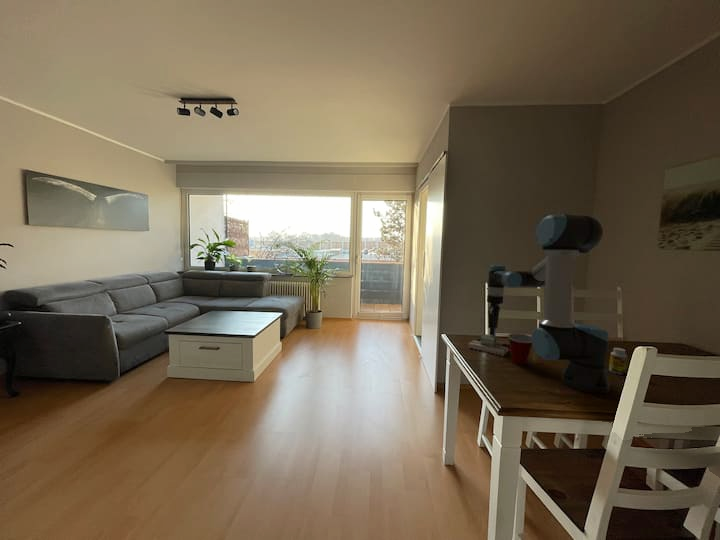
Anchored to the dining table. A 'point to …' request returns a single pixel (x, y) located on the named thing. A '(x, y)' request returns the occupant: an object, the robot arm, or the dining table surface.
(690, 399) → the dining table surface
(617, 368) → the supplement bottle
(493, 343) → the sage block
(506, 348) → the trap deck
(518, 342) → the plastic cup
